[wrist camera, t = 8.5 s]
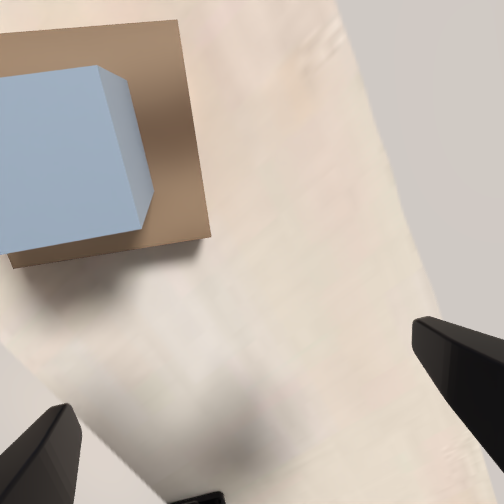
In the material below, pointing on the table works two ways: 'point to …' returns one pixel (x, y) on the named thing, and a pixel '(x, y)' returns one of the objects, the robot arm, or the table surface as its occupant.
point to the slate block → (69, 159)
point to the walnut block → (148, 118)
